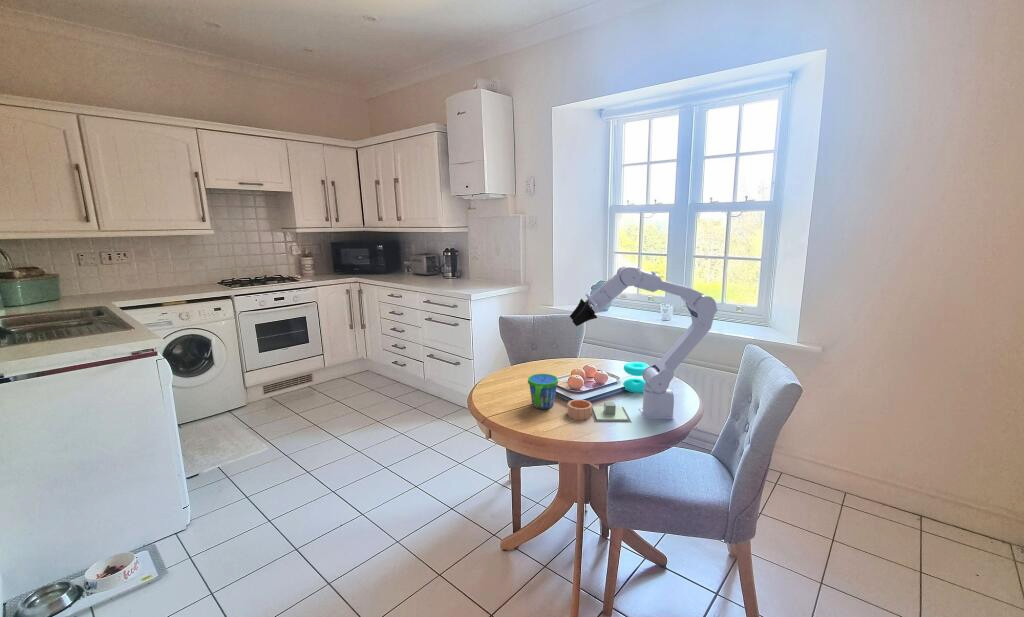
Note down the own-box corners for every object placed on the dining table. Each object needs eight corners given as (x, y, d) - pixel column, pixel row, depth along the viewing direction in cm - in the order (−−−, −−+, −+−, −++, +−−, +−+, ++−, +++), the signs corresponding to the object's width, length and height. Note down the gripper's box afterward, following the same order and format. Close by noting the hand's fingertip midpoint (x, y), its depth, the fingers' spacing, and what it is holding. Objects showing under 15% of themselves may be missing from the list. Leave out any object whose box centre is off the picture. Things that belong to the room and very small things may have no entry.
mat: (623, 408, 151) (623, 407, 151) (631, 423, 140) (631, 422, 140) (588, 408, 152) (588, 406, 152) (594, 423, 140) (594, 422, 140)
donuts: (621, 360, 172) (646, 360, 172) (620, 384, 174) (645, 384, 174) (627, 368, 162) (654, 368, 162) (626, 394, 164) (652, 394, 164)
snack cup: (549, 417, 145) (549, 388, 143) (520, 411, 149) (520, 383, 147) (563, 400, 159) (564, 373, 157) (537, 395, 163) (537, 369, 161)
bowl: (589, 410, 150) (590, 399, 149) (593, 420, 142) (593, 409, 141) (566, 410, 150) (566, 399, 149) (568, 420, 142) (569, 409, 141)
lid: (621, 408, 150) (621, 397, 150) (627, 420, 141) (628, 409, 140) (592, 408, 151) (592, 397, 150) (597, 420, 141) (597, 409, 140)
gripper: (594, 281, 146) (563, 307, 148) (601, 287, 131) (567, 316, 133) (607, 297, 147) (576, 323, 149) (616, 305, 132) (581, 333, 134)
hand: (572, 321), depth 141 cm, fingers open, 7 cm apart
